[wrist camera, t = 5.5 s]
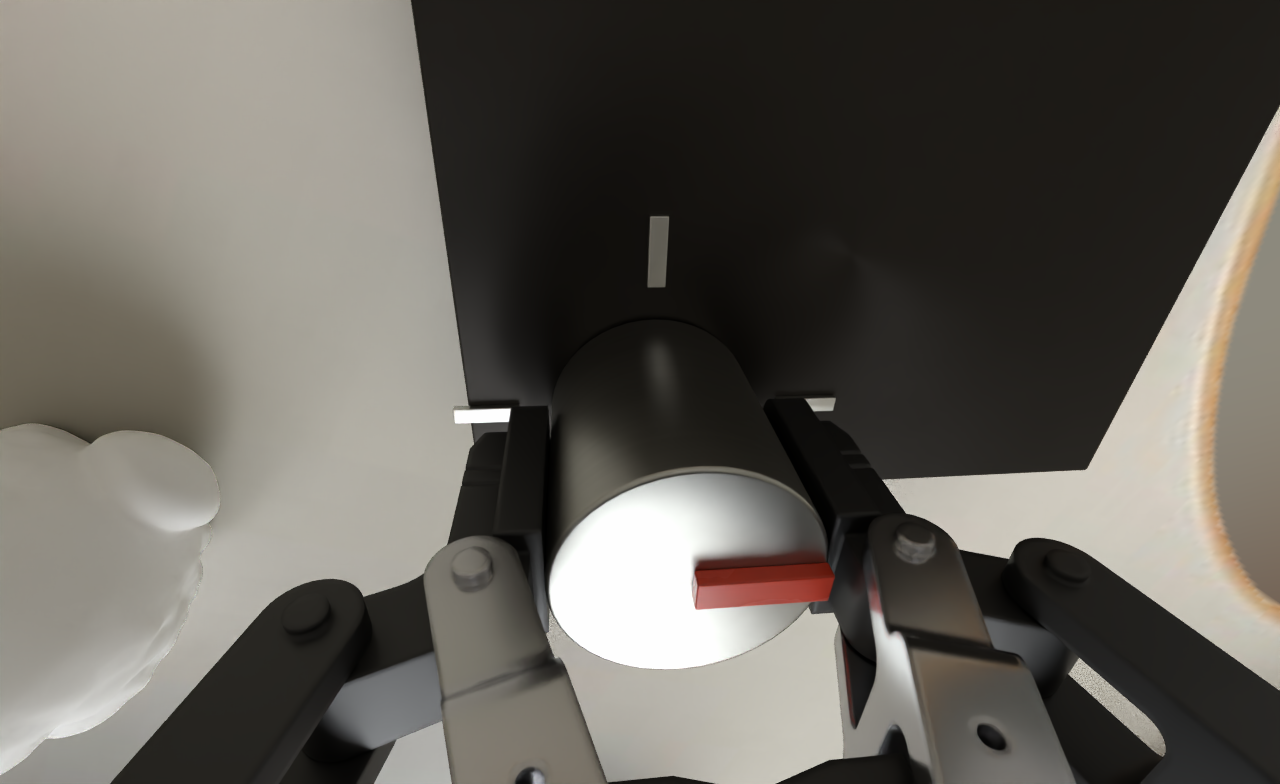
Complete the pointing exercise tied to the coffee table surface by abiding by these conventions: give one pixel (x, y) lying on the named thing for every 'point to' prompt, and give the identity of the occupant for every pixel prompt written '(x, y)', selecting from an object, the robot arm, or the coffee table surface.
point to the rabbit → (91, 573)
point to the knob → (673, 505)
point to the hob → (845, 199)
